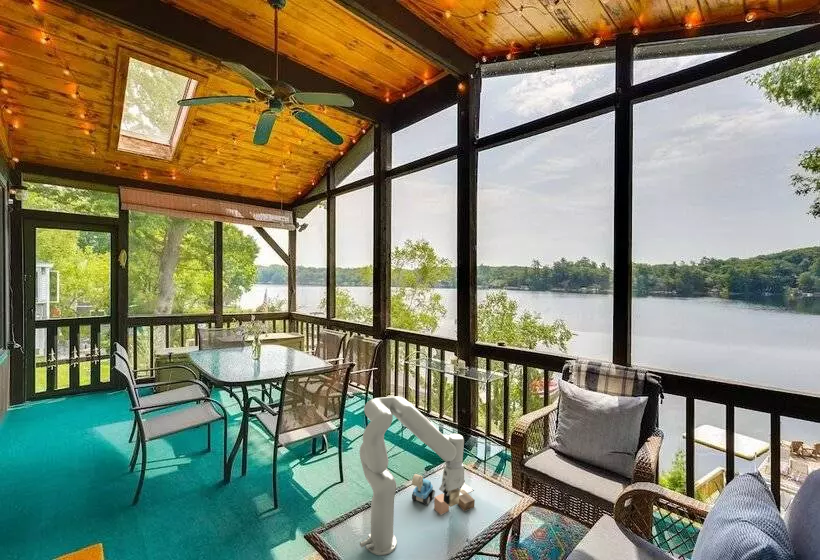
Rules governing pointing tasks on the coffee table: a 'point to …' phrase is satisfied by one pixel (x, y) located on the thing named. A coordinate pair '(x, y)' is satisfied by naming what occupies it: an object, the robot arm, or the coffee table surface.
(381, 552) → the robot arm
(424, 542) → the coffee table surface
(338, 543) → the coffee table surface
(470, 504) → the walnut base block
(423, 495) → the toy excavator
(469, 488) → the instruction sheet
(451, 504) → the maple block
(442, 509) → the terracotta block
